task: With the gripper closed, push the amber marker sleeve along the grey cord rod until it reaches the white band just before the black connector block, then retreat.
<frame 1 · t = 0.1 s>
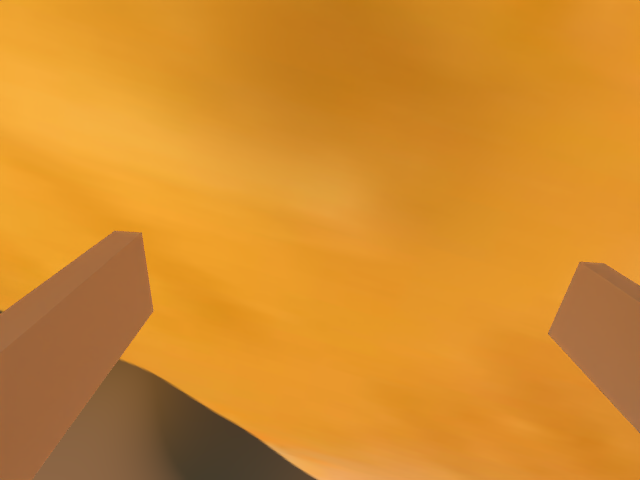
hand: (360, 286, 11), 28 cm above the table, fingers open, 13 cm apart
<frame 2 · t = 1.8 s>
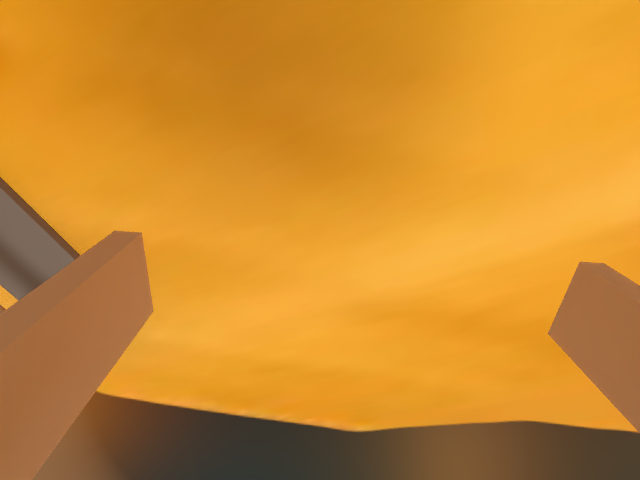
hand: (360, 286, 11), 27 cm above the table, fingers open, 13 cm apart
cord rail: (14, 241, 39), on the table
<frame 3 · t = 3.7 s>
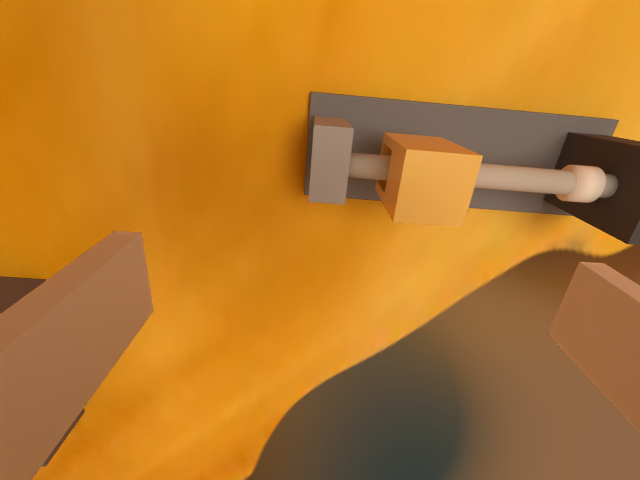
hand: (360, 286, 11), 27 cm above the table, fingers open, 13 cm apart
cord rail: (451, 157, 36), on the table
sleeve: (419, 175, 27), point 10 cm above the table, slide at 0.0 cm
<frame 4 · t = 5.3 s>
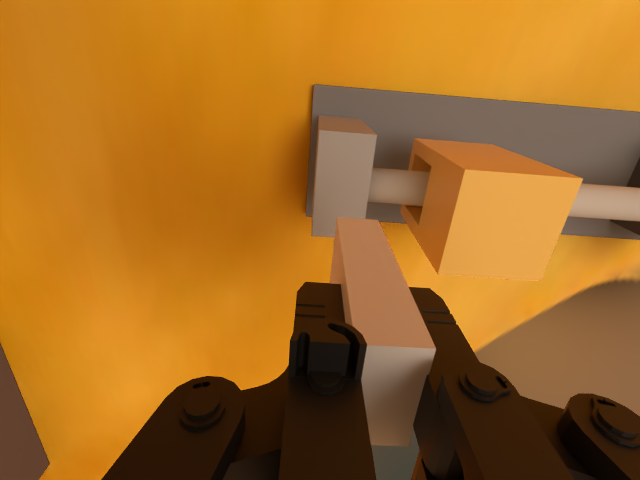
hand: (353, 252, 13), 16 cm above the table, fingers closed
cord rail: (494, 167, 28), on the table
sleeve: (469, 199, 19), point 10 cm above the table, slide at 0.0 cm
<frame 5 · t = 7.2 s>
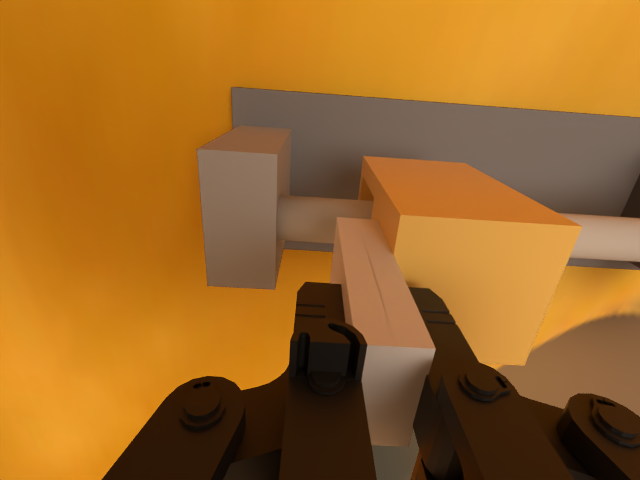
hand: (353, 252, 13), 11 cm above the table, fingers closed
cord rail: (463, 185, 23), on the table
sleeve: (428, 241, 14), point 10 cm above the table, slide at 0.8 cm, touching gripper
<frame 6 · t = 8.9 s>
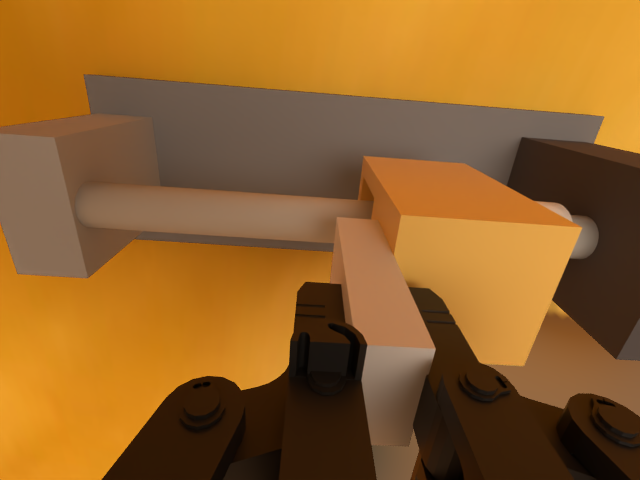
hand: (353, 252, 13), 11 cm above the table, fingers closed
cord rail: (341, 177, 23), on the table
sleeve: (428, 241, 14), point 10 cm above the table, slide at 9.0 cm, touching gripper
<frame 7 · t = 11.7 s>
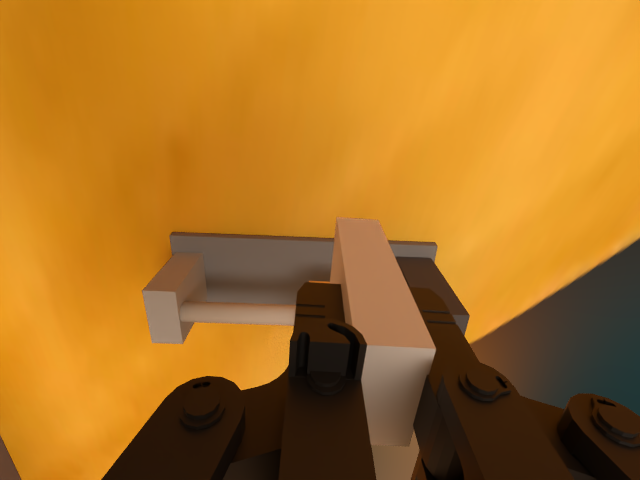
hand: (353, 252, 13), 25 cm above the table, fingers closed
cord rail: (303, 275, 41), on the table
sleeve: (333, 326, 33), point 10 cm above the table, slide at 9.2 cm
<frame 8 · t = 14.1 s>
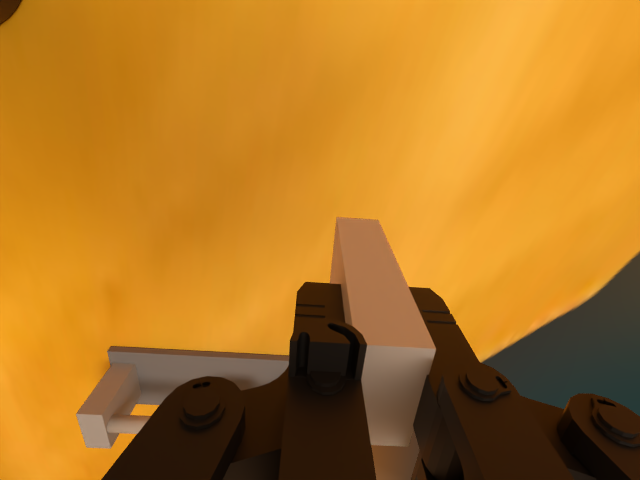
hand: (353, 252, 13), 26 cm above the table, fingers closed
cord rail: (220, 378, 51), on the table
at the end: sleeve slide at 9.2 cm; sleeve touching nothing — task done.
